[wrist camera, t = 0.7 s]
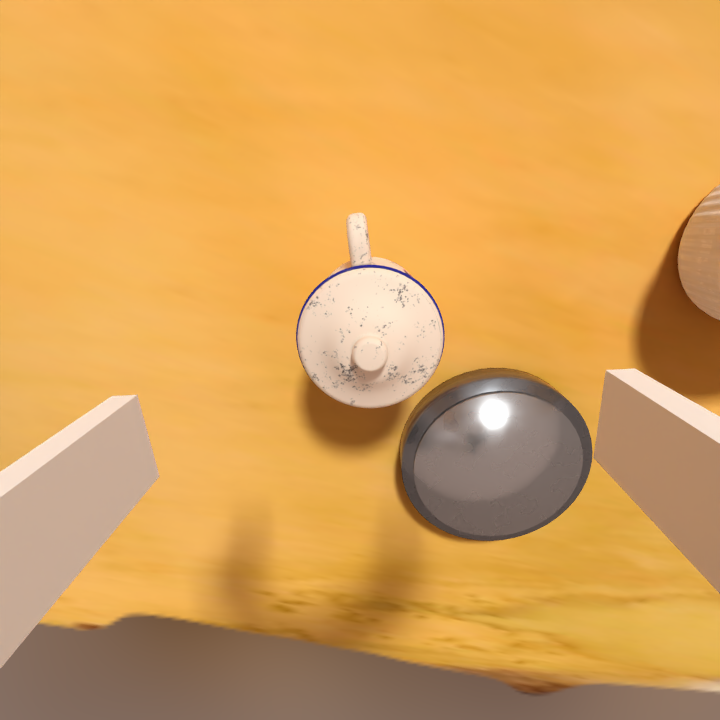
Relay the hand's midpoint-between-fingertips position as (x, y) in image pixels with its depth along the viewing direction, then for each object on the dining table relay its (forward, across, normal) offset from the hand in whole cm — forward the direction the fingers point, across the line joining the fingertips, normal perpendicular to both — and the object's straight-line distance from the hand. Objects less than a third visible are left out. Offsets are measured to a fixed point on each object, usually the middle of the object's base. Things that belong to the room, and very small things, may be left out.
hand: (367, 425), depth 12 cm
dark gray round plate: (+22, +10, -15) cm, 28 cm away
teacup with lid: (+22, 0, 0) cm, 22 cm away
